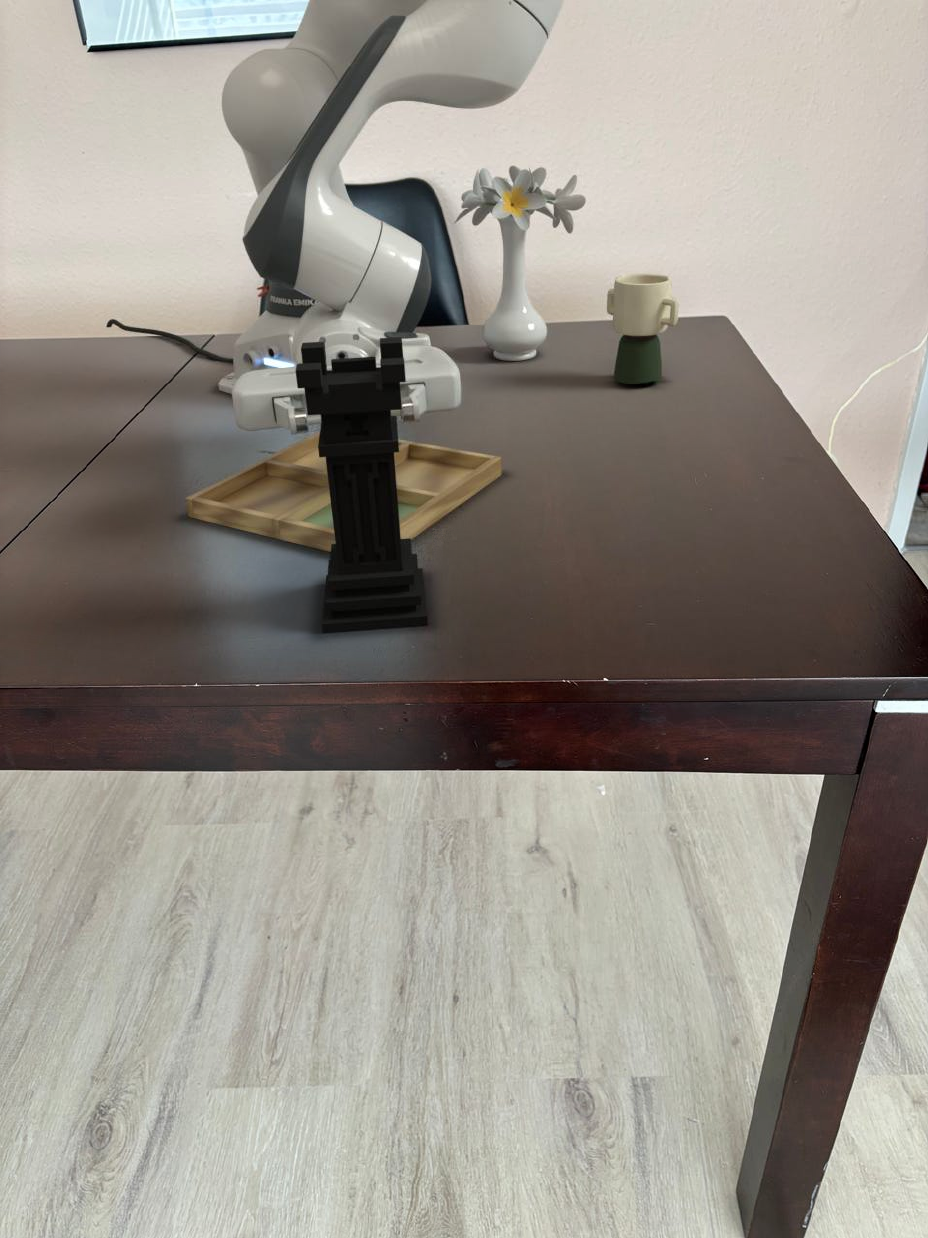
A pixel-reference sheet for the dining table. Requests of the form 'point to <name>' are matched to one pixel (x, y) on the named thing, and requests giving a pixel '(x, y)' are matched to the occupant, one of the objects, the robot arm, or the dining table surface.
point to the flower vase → (517, 251)
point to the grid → (300, 498)
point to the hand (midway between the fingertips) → (355, 418)
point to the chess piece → (363, 489)
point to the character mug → (641, 324)
